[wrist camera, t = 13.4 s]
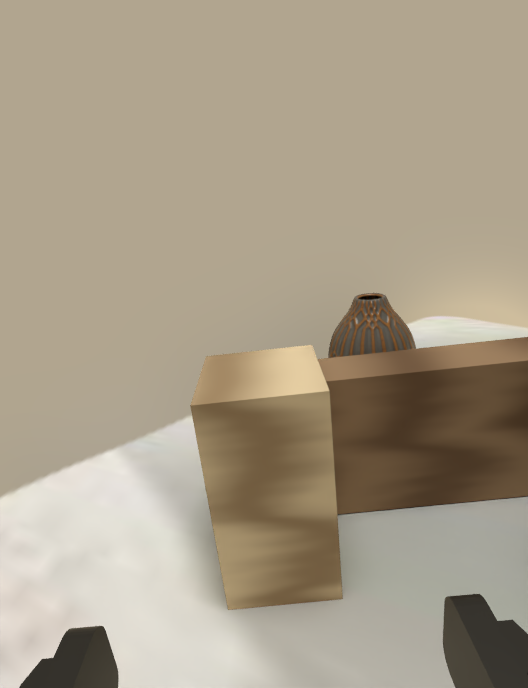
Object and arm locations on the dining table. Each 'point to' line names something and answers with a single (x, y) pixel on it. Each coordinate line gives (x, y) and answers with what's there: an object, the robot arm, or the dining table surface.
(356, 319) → the vase
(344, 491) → the walnut board
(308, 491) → the maple block
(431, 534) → the dining table surface
